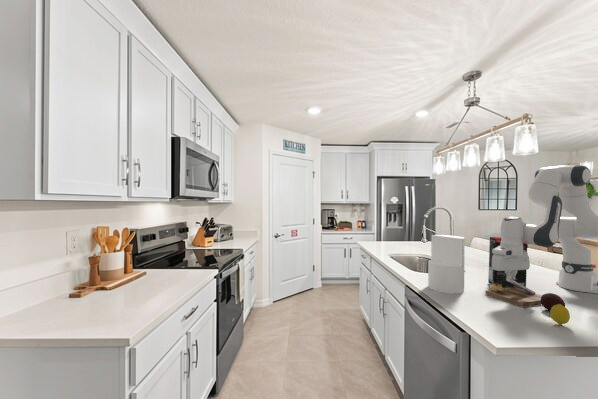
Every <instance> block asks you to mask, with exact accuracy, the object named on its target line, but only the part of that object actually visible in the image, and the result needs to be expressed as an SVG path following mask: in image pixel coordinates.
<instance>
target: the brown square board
mask: <svg viewBox="0 0 598 399" xmlns="http://www.w3.org/2000/svg"><path fill="white" fill-rule="evenodd" d="M507 288H508V290H505V291H497V292H496V291H492V290H490V289H489V290H487V289H486V290H485V295H487V296H490V297H492V298H495V299H497V300H500V301H502V302H503V301H504V302H506V303H509V304H512V305H515V306H518V307H521V308H526V307H534V306H535V307H536V306H543V305H542V304H541V301H540V299H541V296H542V295H543V294H538V293H536V292H535V294H532V293H529V292H527V291H525V290H523V289H521V288H519V287H507Z"/></svg>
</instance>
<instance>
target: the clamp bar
mask: <svg viewBox="0 0 598 399" xmlns="http://www.w3.org/2000/svg"><path fill="white" fill-rule="evenodd" d="M506 281H508V282H510V283H512V284H514V285H516V286H517V287H516V288H519V289H522V290H525V291H527V292H529V293H532V294H535V293H536V291H534V290H532V289H530V288H528V287H527V286H526V287H525V286H523V285H521V284H519V283H517V282H516V281H514V280H509V279H506Z"/></svg>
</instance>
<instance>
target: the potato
mask: <svg viewBox="0 0 598 399" xmlns="http://www.w3.org/2000/svg"><path fill="white" fill-rule="evenodd" d="M541 295H542V296H541V299H540V301H541V304H542V305H541V306H542V307H543V308H544V309H545V310H546V311H549V312H550V311H551V308H552V307H553V306H554V305H558V304H561V305H562V306H564V307H566V302H565V300H564V299H563V298H562V297H561V296H560V295H558V294H555V293H553V292H552V293H550V292H549V293H544V294H541Z"/></svg>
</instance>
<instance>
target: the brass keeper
mask: <svg viewBox="0 0 598 399" xmlns="http://www.w3.org/2000/svg"><path fill="white" fill-rule="evenodd" d="M489 284H490V283H489ZM489 286H490V287H489V290H492V291H496V292H497V291H505V290H508V288H509V287H507V286H502V284H498V283H491V284H490V285H489Z"/></svg>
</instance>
